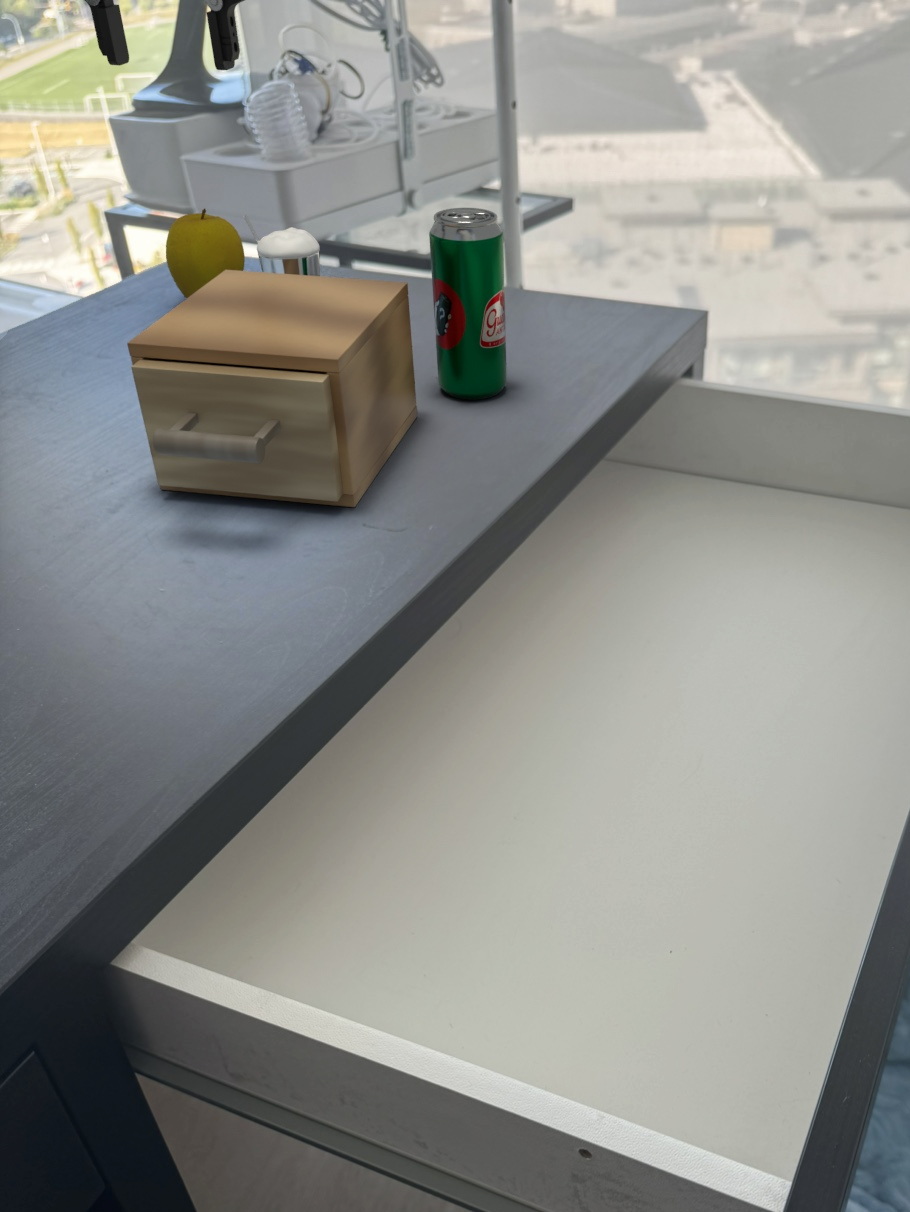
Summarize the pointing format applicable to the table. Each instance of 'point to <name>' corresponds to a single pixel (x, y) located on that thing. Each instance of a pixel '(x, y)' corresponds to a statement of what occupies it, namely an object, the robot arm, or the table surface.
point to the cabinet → (306, 353)
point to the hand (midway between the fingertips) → (172, 66)
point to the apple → (202, 250)
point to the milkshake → (288, 252)
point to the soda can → (469, 302)
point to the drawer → (240, 428)
